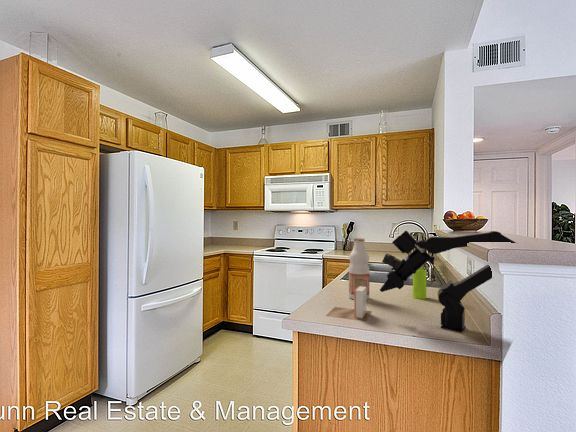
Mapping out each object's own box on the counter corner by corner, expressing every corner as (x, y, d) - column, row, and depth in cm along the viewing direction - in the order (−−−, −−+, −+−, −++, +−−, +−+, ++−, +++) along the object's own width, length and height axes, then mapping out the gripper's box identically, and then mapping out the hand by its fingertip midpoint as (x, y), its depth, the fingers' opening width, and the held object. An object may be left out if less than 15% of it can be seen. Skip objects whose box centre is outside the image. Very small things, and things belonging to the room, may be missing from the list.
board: (371, 312, 125) (371, 311, 125) (365, 322, 113) (365, 321, 113) (334, 308, 131) (334, 306, 131) (325, 317, 119) (325, 315, 119)
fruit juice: (344, 297, 149) (344, 238, 149) (358, 294, 154) (358, 237, 154) (359, 301, 141) (359, 239, 141) (373, 299, 146) (373, 238, 146)
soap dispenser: (430, 299, 146) (430, 256, 146) (415, 299, 146) (415, 256, 146) (425, 296, 152) (425, 254, 152) (411, 296, 152) (411, 254, 152)
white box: (366, 312, 123) (366, 286, 123) (362, 318, 116) (362, 291, 116) (358, 311, 125) (358, 286, 125) (354, 317, 117) (354, 290, 117)
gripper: (398, 244, 124) (369, 270, 128) (393, 248, 107) (360, 278, 111) (419, 266, 121) (389, 291, 125) (418, 273, 104) (383, 303, 108)
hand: (380, 290), depth 117 cm, fingers closed
